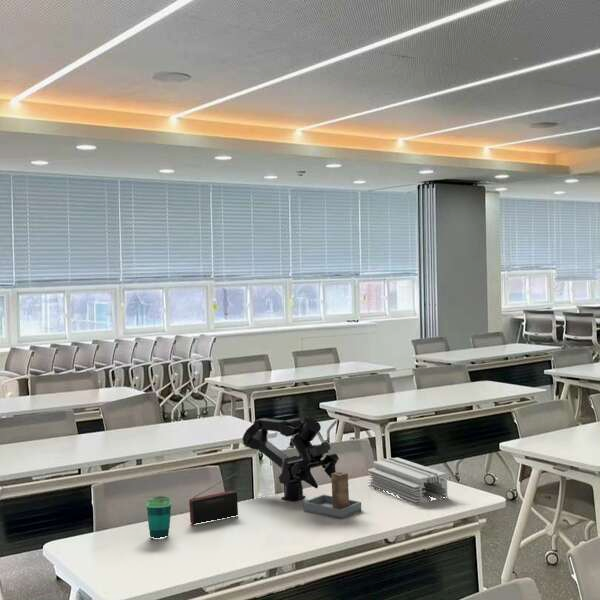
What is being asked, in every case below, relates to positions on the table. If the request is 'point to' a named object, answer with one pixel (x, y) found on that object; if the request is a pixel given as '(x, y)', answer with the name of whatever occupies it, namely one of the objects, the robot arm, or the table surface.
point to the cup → (159, 516)
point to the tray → (330, 507)
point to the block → (340, 490)
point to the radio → (213, 506)
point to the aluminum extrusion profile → (408, 480)
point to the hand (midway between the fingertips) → (327, 484)
